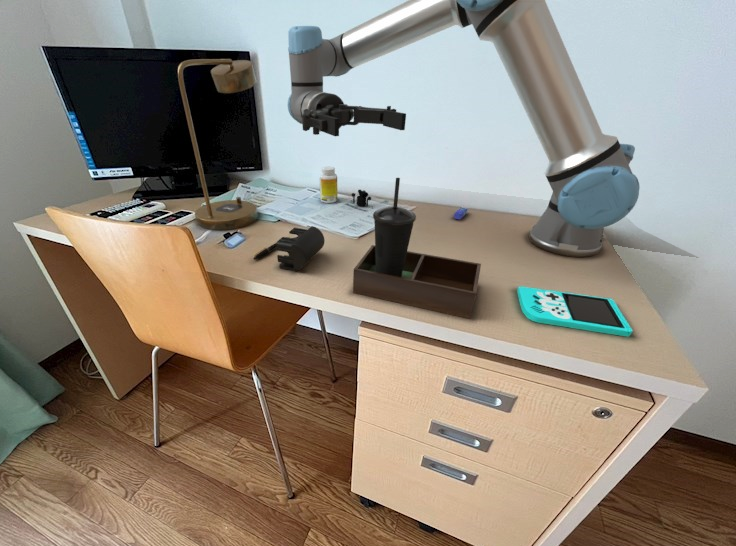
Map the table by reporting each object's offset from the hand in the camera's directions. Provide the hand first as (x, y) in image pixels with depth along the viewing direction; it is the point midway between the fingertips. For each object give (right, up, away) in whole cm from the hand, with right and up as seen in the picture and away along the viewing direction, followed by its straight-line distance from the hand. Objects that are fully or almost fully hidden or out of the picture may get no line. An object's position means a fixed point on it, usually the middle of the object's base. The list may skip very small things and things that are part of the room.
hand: (371, 124), depth 61 cm
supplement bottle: (-9, +1, +51) cm, 52 cm away
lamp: (-36, -5, +43) cm, 56 cm away
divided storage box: (+9, -29, +7) cm, 31 cm away
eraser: (+30, -7, +39) cm, 50 cm away
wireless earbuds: (+2, -2, +47) cm, 47 cm away
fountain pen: (-22, -19, +22) cm, 36 cm away
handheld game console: (+35, -33, +1) cm, 49 cm away
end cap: (-14, -23, +17) cm, 32 cm away
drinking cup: (+4, -27, +8) cm, 29 cm away
